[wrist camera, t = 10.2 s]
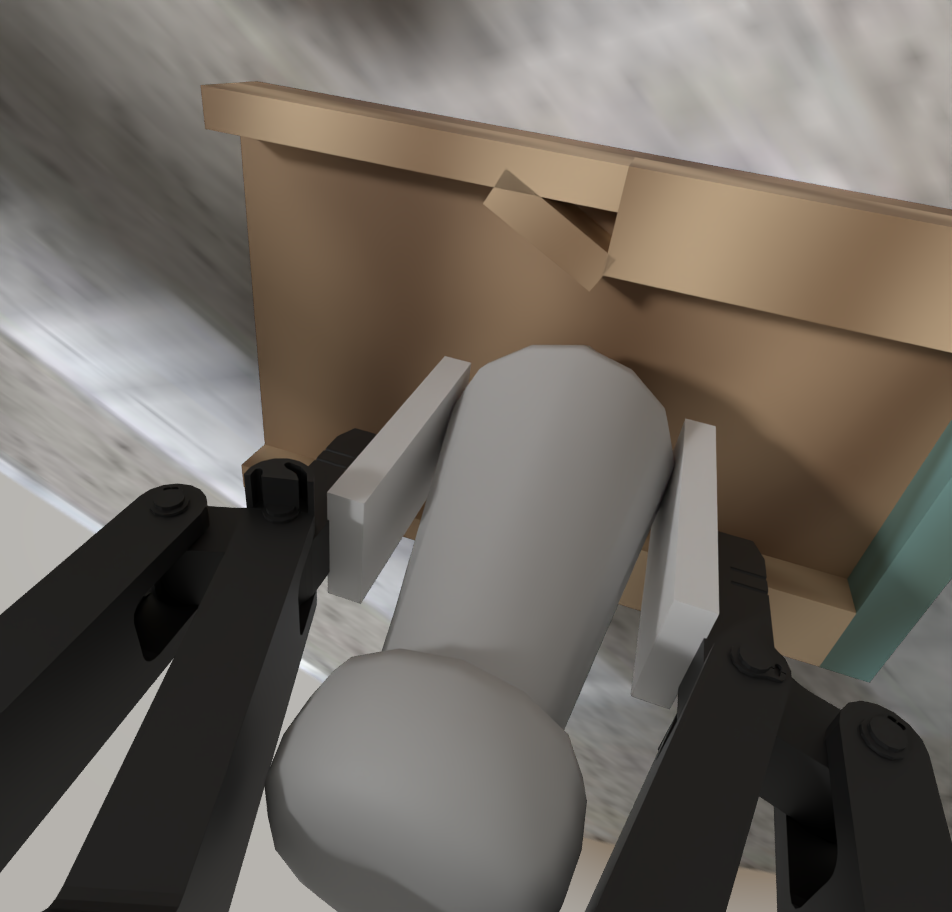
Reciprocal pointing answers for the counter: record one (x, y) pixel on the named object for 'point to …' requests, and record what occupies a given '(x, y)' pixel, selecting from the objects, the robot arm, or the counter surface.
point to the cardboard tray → (624, 326)
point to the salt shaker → (481, 654)
